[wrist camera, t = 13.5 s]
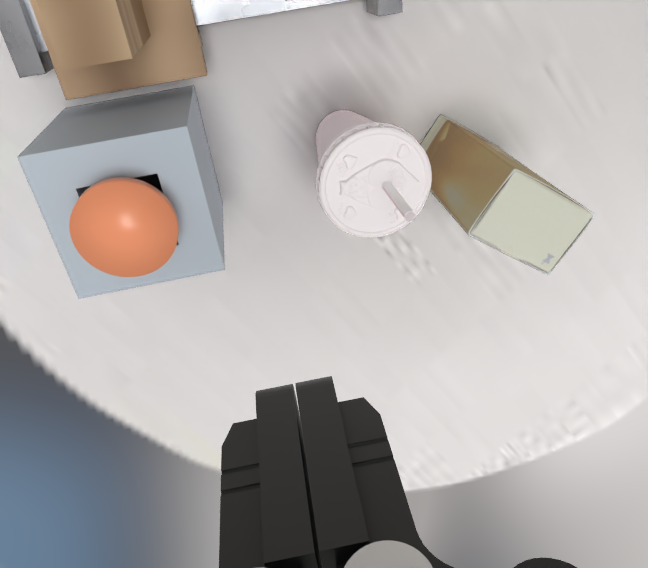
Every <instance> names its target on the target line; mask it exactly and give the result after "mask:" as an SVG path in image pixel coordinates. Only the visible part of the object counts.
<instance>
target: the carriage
mask: <svg viewBox="0 0 648 568" xmlns="http://www.w3.org/2000/svg"><path fill="white" fill-rule="evenodd" d="M30 3H31V6H32V8H33V11H34V14H35V16H36V19H37V22H38V25H39V27H40V30H41V33H42V36H43V38H44V41H45V44H46V47H47V49H48V52H49V55H50V58H51V60H52V63H53V66H54V68H55V71H56V74H57V77H58V79H59V82H60V85H61V88H62V90H63V93H64V96H65V99H66V100H69V99H75V98H81V97H86V96H92V95H98V94H104V93H109V92H115V91H121V90H126V89H132V88H138V87H144V86H149V85H155V84H161V83H166V82H172V81H178V80H183V79H189V78H195V77H201V76H206V75H207V69H206V64H205V60H204V56H203V52H202V40H201V36H200V32H199V30H197V26H196V21H195V17H194V13H193V9H192V4H191V0H30Z"/></svg>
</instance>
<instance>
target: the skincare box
mask: <svg viewBox="0 0 648 568" xmlns="http://www.w3.org/2000/svg"><path fill="white" fill-rule="evenodd" d="M421 146H422V148H423V149H424V150H425V152H426V154H427V156H428V159H429V162H430V165H431V171H432V182H431V188H430V191H431V192H432V194H433V195H434V196H435V197H436V198H437V199H438V201H439V202H440V203H441V204H442V205H443V206H444V207H445V209H446V210H447V211H448V212H449V213H450V214H451V215H452V217H453V218H454V219H455V220H456V221H457V222H458V223H459V225H460V226H461V227H462V228H463V229H464V230H465V232H466V233H467V234H468V235H469V236H471V237H473V238H475V239H477V240H478V241H480V242H482V243H484V244H486V245H488V246H490V247H492V248H494V249H496V250H498V251H500V252H502V253H504V254H506V255H508V256H510V257H512V258H514V259H516V260H518V261H520V262H522V263H524V264H526V265H528V266H530V267H532V268H534V269H536V270H538V271H541V272H542V273H544V274H547V275H548V274H550V273H551V272H552V271H553V269H554V268H555V266H556V265H557V264H558V263H559V262H560V260H561V259H562V258H563V257H564V255H565V254H566V253H567V252H568V250H569V249H570V248H571V247H572V245H573V244H574V243H575V242H576V240H577V239H578V238H579V236H580V235H581V234H582V233H583V231H584V230H585V229H586V227H587V226H588V224H589V223H590V221H591V220H592V219H593V218H594V213H593V212H591V211H590V210H588V209H587V208H586V207H584V206H583V205H581V204H580V203H578V202H577V201H575V200H574V199H572V198H571V197H569V196H568V195H566V194H565V193H563V192H562V191H560V190H559V189H557V188H556V187H554V186H553V185H552V184H550V183H549V182H547V181H546V180H544V179H543V178H541V177H540V176H539V175H537V174H536V173H534V172H533V171H531V170H530V169H528V168H527V167H526V166H524V165H523V164H521V163H520V162H518V161H517V160H516V159H514V158H513V157H511V156H510V155H509V154H507V153H506V152H504V151H503V150H501V149H500V148H498V147H497V146H495V145H494V144H492V143H491V142H489V141H487V140H486V139H484V138H483V137H481V136H479V135H478V134H476V133H474V132H473V131H471V130H469V129H467V128H466V127H464V126H462V125H460V124H458V123H456V122H454V121H453V120H451V119H449V118H447V117H445V116H443V115H440V116H439V117H438V118H437V120H436V122H435V123H434V125H433V126H432V128H431V129H430V131H429V132H428V134H427V135H426V137H425V138H424V140H423V141H422V143H421Z"/></svg>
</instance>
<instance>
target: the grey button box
mask: <svg viewBox="0 0 648 568" xmlns="http://www.w3.org/2000/svg"><path fill="white" fill-rule="evenodd" d="M18 160H19V162H20V164H21V167H22V169H23V171H24V174H25V176H26V178H27V181H28V183H29V185H30V188H31V190H32V192H33V194H34V197H35V199H36V201H37V204H38V206H39V208H40V211H41V213H42V215H43V218H44V220H45V222H46V225H47V227H48V229H49V232H50V234H51V236H52V239H53V241H54V243H55V245H56V248H57V250H58V252H59V255H60V257H61V259H62V262H63V264H64V266H65V269H66V271H67V273H68V276H69V278H70V280H71V283H72V285H73V287H74V290H75V292H76V294H77V296H78V299H81V298H86V297H91V296H96V295H100V294H105V293H110V292H115V291H120V290H125V289H130V288H135V287H140V286H145V285H150V284H155V283H160V282H165V281H170V280H175V279H180V278H185V277H190V276H195V275H200V274H205V273H210V272H215V271H220V270H225V265H224V234H223V202H222V198H221V194H220V190H219V186H218V182H217V178H216V174H215V170H214V166H213V162H212V158H211V154H210V150H209V146H208V142H207V138H206V134H205V130H204V126H203V122H202V118H201V114H200V109H199V105H198V101H197V97H196V93H195V89H194V86H188V87H182V88H177V89H171V90H165V91H160V92H154V93H148V94H143V95H137V96H131V97H126V98H120V99H114V100H109V101H103V102H97V103H92V104H86V105H80V106H75V107H69V108H65V109H64V110H63V111H62V112H61V113H60V114H59V115H58V116H57V117H56V118H55V119H54V120H53V121H52V122H51V123H50V124H49V125H48V126H47V127H46V128H45V129H44V130H43V131H42V132H41V133H40V134H39V135H38V136H37V137H36V138H35V139H34V140H33V142H32V143H31V144H30V145H29V146H28V147H27V148H26V149H25V150H24V151H23V152H22V153H21V154H20V155H19V156H18ZM152 174H158V178H159V181H160V184H161V187H162V191H163V194H164V195H165V196H166V197H167V198H168V200H169V201H170V202H171V204H172V205H173V207H174V209H175V211H176V214H177V218H178V223H179V233H178V241H177V245H176V248H175V251H174V253H173V254H172V256H171V258H170V259H169V260H168V261H167V262H166V263H165V264H164V265H163V266H162V267H160V268H159V269H158V270H156V271H154V272H152V273H149V274H147V275H143V276H138V277H119V276H114V275H110V274H107V273H105V272H102V271H100V270H98V269H96V268H95V267H93V266H92V265H90V264H89V263H88V262H87V261H86V260H85V259H84V258H83V257H82V256H81V255H80V254H79V252H78V251H77V249H76V248H75V246H74V244H73V242H72V239H71V235H70V230H69V222H70V216H71V213H72V210H73V208H74V206H75V204H76V202H77V201H78V199H79V197H80V196H81V195H82V193H83V192H84V191H85V190H86V189H88V188H89V187H90V186H91V185H93V184H95V183H97V182H99V181H101V180H104V179H108V178H114V177H128V178H136V177H141V176H146V175H152Z"/></svg>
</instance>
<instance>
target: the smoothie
mask: <svg viewBox="0 0 648 568" xmlns="http://www.w3.org/2000/svg"><path fill="white" fill-rule="evenodd" d="M316 146H317V154H318V163H319V166H318V169H317V175H316V191H317V197H318V200H319V202H320V204H321V207H322V209H323V211H324V212H325V213H326V215H327V216H328V218H329V219H330V220H331V221H332V222H333V223H334V224H335V225H336V226H337V227H338V228H339V229H341V230H343V231H344V232H346V233H348V234H351V235H354V236H358V237H364V238H376V237H382V236H386V235H389V234H392V233H394V232H396V231H398V230H400V229H402V228H403V227H405V226H406V225H407V224H409V223H410V222H411V221H413V220H414V219H415V217H416V216H417V215H418V213H419V212H420V211H421V209H422V208H423V206H424V204H425V203H426V200H427V198H428V196H429V192H430V188H431V182H432V171H431V165H430V162H429V159H428V156H427V154H426V152H425V150H424V149H423V148H422V146H421V145H420V144H419V143H418V141H417V140H416V139H415V137H414V136H412V135H411V134H410V133H408V132H407V131H406V130H404V129H403V128H400V127H398V126H395V125H392V124H390V123H378V122H374V121H372V120H370V119H368V118H366V117H363V116H361V115H359V114H357V113H355V112H353V111H349V110H338V111H335V112H332V113H330V114H329V115H327V116H326V117H325V118H324V119H323V120H322V121H321V123H320V125H319V126H318V129H317V132H316Z"/></svg>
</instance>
